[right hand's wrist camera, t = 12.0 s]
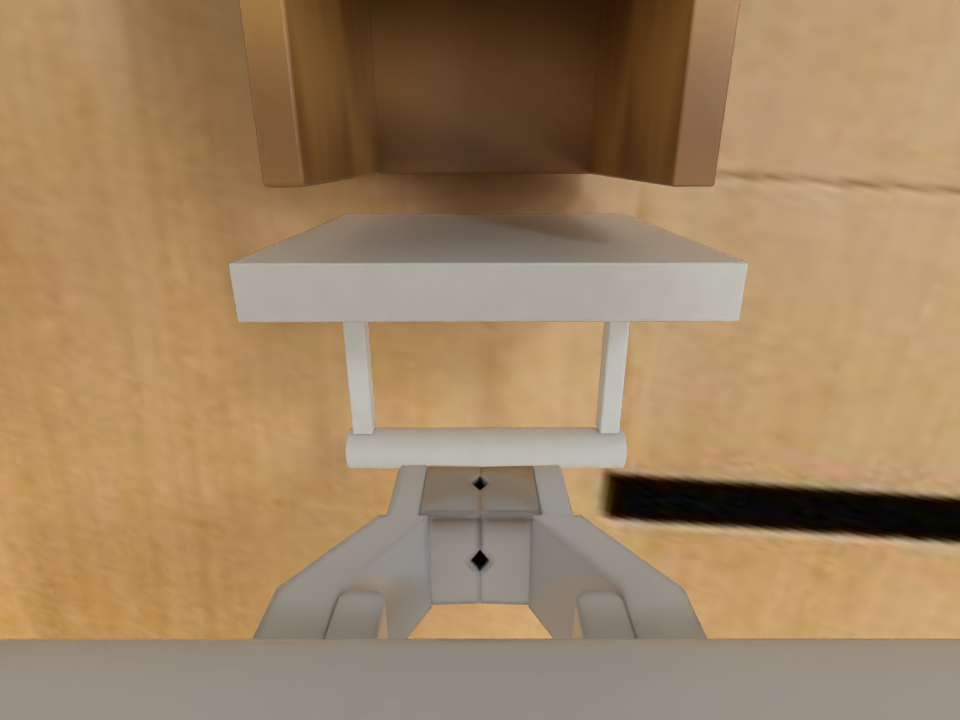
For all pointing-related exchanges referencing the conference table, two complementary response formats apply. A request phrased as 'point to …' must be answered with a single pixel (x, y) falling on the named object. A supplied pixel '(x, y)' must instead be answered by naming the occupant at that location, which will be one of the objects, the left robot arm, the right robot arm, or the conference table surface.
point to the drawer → (488, 150)
